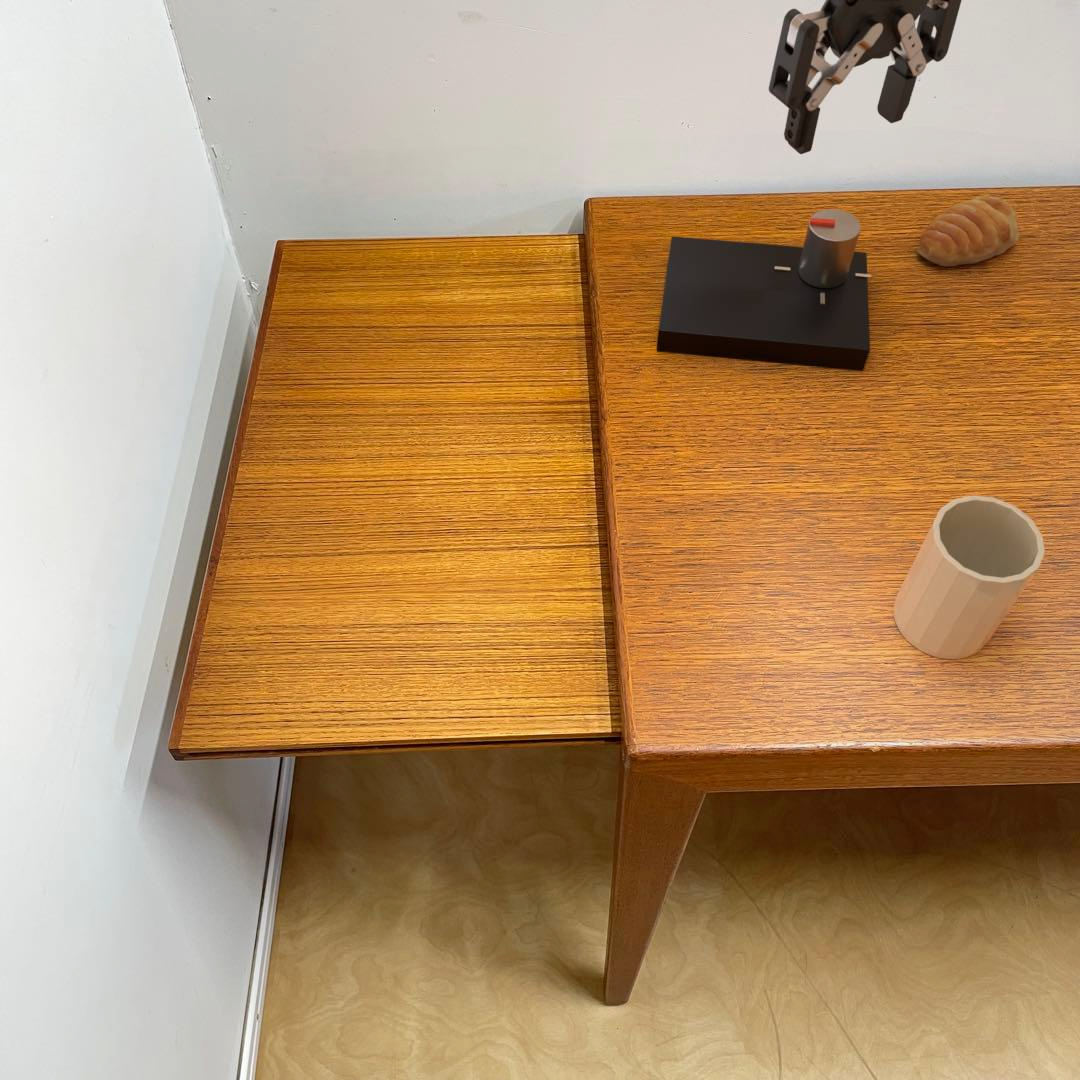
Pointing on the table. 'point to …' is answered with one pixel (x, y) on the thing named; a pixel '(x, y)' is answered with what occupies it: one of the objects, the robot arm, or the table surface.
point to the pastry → (970, 232)
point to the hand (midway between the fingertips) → (844, 132)
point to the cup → (967, 576)
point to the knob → (828, 248)
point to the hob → (761, 306)
